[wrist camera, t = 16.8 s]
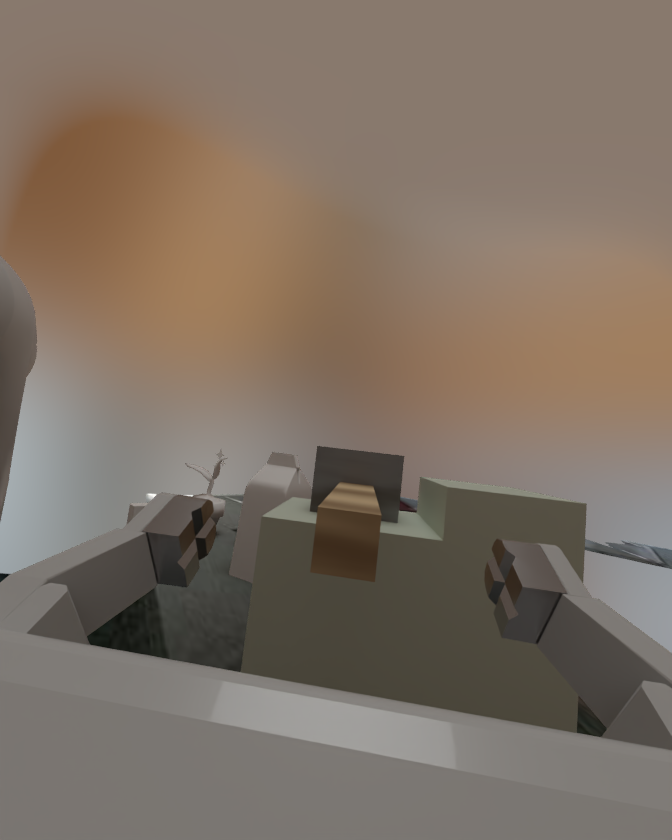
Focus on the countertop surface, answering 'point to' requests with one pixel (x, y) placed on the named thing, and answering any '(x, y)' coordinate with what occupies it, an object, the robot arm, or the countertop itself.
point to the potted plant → (217, 503)
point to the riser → (414, 606)
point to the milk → (265, 507)
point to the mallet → (352, 509)
